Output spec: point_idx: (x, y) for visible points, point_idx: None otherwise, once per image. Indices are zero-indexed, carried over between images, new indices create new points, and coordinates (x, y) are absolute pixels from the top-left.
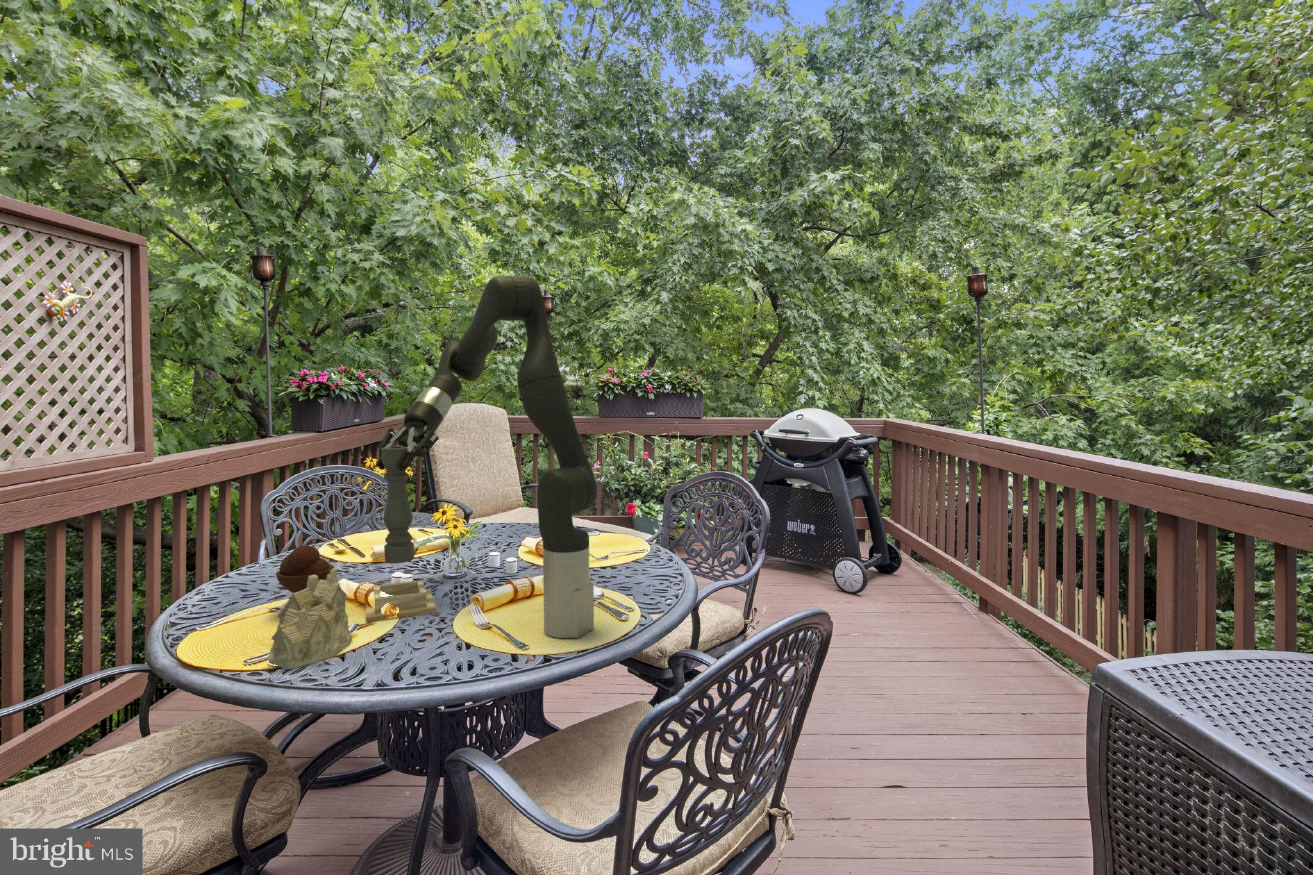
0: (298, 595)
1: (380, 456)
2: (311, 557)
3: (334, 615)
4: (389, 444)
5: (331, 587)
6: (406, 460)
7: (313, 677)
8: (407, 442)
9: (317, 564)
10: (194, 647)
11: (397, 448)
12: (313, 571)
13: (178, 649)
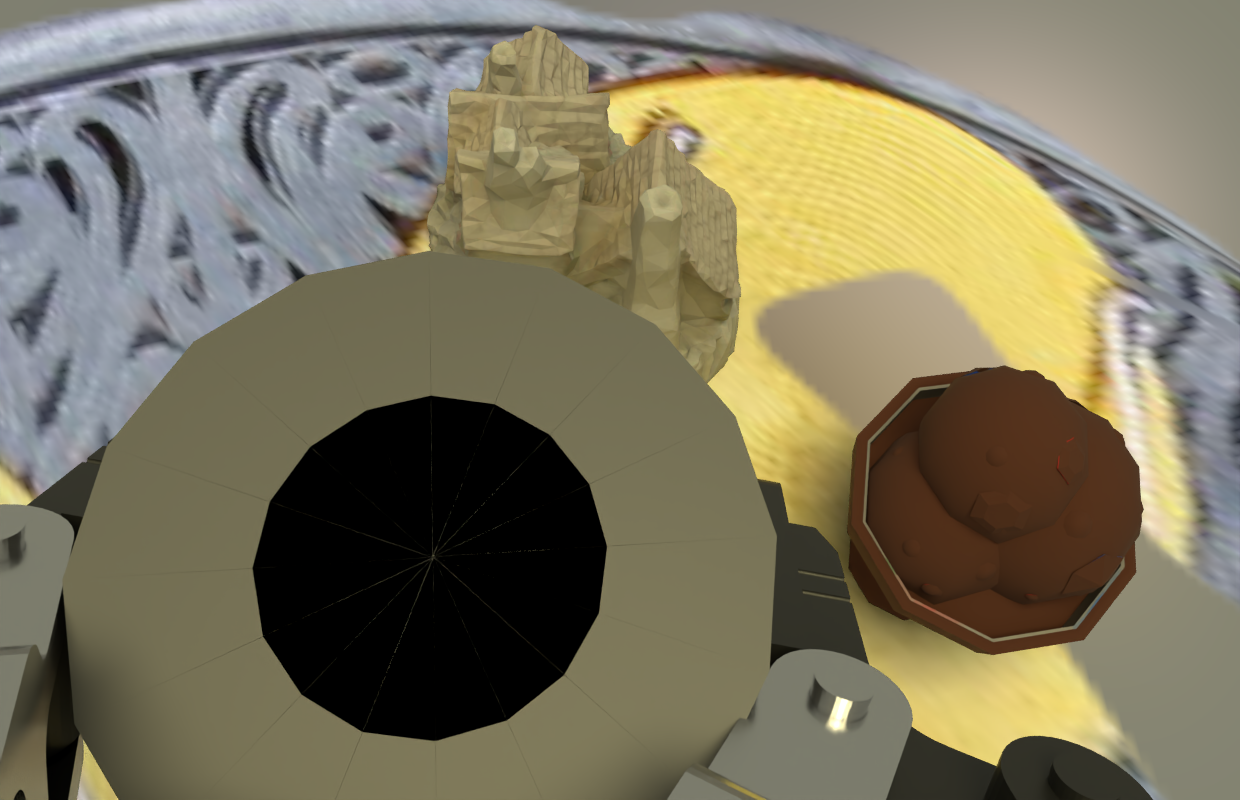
0: (647, 155)
1: (846, 617)
2: (933, 428)
3: (455, 190)
4: (820, 794)
5: (488, 153)
6: (91, 462)
7: (381, 88)
8: (18, 647)
9: (900, 467)
10: (959, 173)
11: (272, 426)
12: (890, 452)
13: (990, 151)
